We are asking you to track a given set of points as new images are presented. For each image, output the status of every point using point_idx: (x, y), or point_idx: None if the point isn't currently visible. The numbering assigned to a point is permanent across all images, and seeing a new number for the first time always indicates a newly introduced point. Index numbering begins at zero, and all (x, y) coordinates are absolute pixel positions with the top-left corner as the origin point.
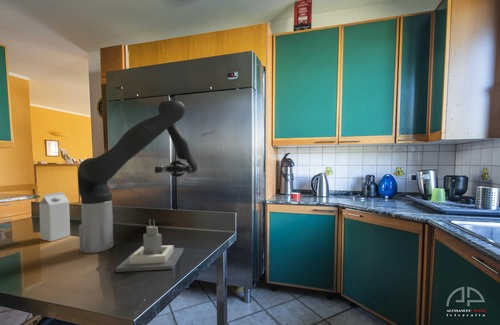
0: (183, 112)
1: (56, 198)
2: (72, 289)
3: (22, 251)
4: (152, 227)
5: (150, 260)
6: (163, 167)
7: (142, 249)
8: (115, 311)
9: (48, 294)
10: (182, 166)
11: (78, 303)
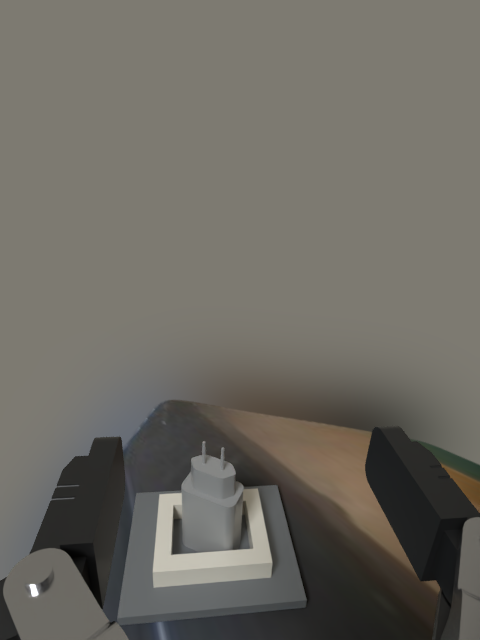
0: None
1: None
2: (308, 443)
3: None
4: (209, 461)
5: None
6: (455, 578)
7: (252, 536)
8: (195, 406)
9: (335, 434)
10: (57, 548)
11: (262, 418)
